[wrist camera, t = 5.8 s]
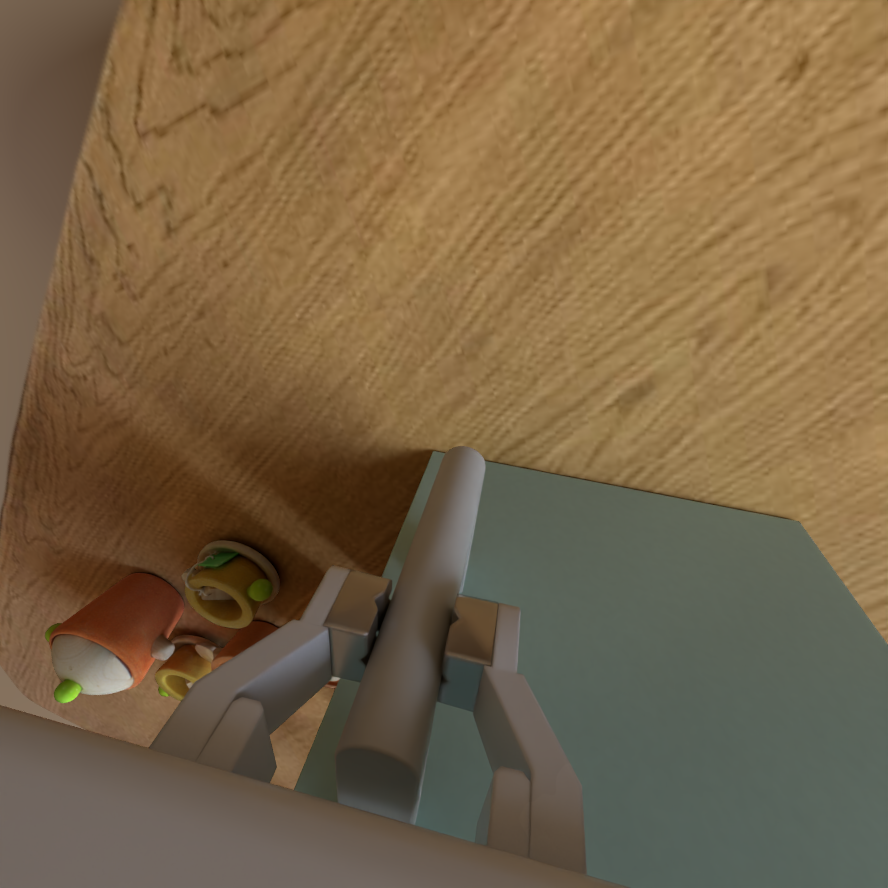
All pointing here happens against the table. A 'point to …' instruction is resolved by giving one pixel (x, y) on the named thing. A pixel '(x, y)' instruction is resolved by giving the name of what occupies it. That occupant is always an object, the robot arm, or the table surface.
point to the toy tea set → (164, 626)
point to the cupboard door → (631, 681)
